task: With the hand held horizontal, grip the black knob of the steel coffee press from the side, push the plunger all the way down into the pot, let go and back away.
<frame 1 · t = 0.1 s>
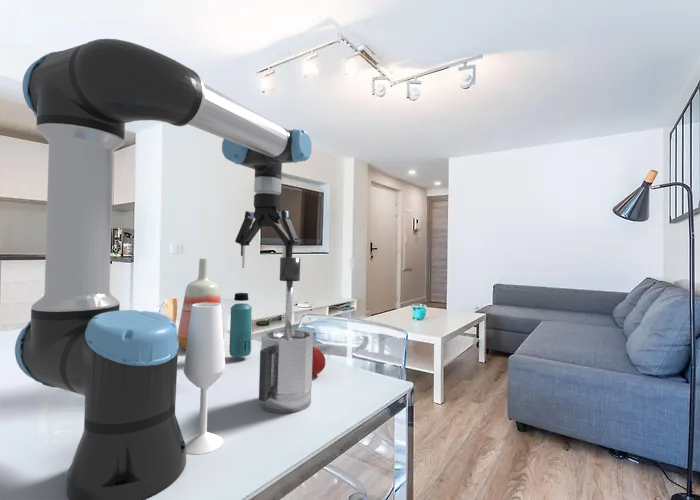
hand: (265, 269, 105), 28 cm above the table, tool pointing down, fingers open, 13 cm apart
press pot: (286, 402, 82), on the table
champagne flute: (202, 444, 64), on the table
vase: (200, 348, 123), on the table
onion: (314, 376, 99), on the table
beverage bottle: (239, 359, 112), on the table
plunger: (289, 301, 82), point 22 cm above the table, slide at 0.0 cm
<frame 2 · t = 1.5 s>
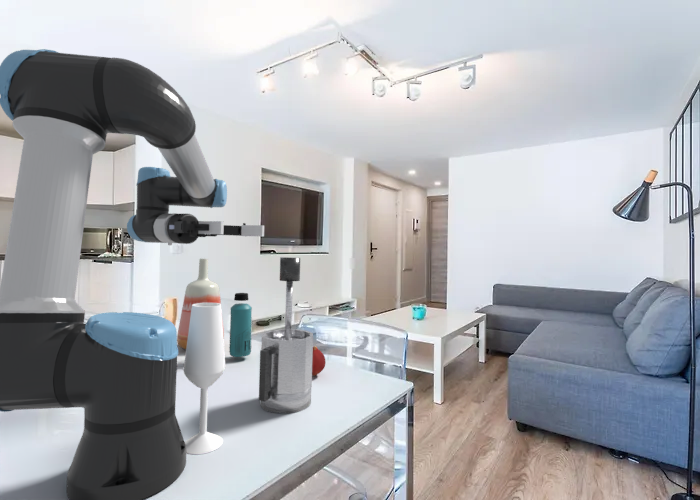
hand: (244, 229, 84), 38 cm above the table, tool horizontal, fingers open, 13 cm apart
nothing on the table moved.
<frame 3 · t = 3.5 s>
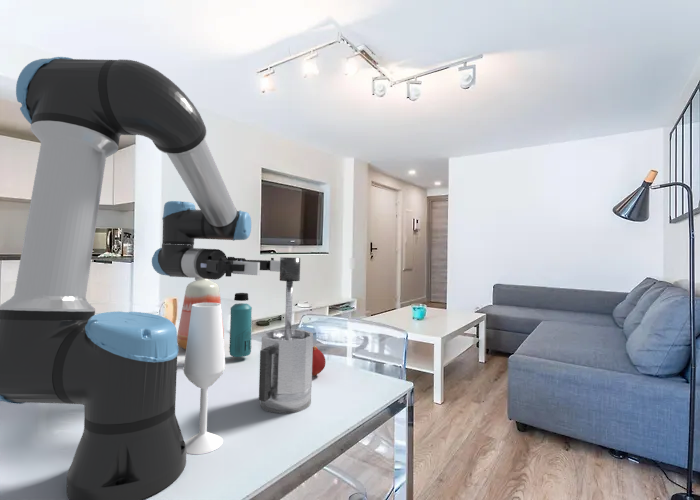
hand: (277, 267, 84), 30 cm above the table, tool horizontal, fingers open, 13 cm apart
nothing on the table moved.
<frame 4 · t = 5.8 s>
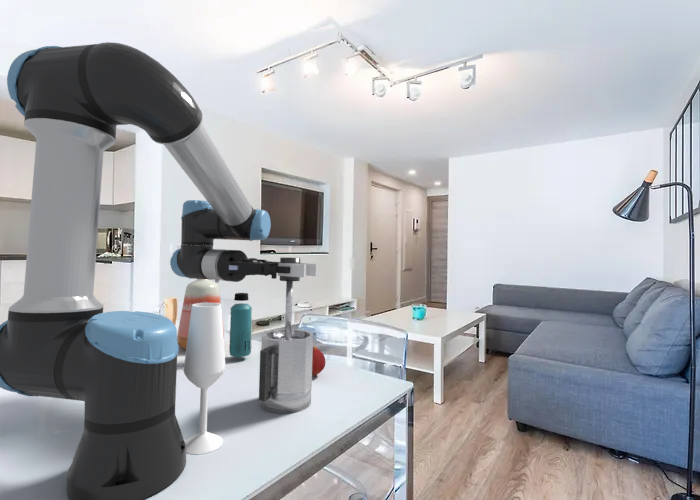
hand: (310, 270, 79), 29 cm above the table, tool horizontal, fingers closed on plunger, 4 cm apart
plunger: (289, 301, 82), point 22 cm above the table, slide at 0.0 cm, touching gripper
everything else where it was.
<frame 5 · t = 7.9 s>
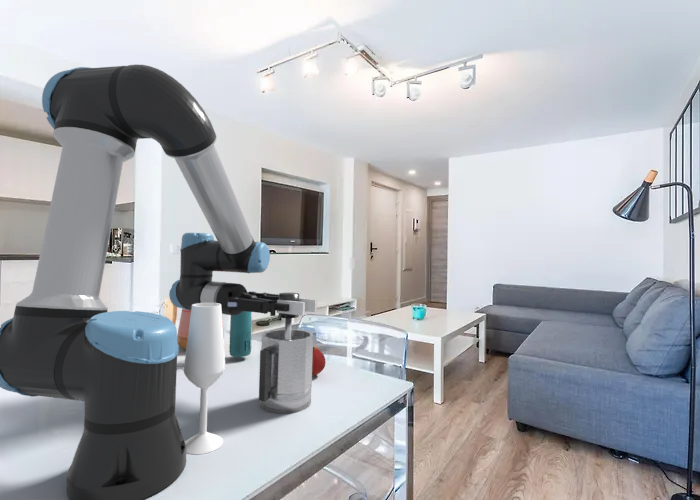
hand: (309, 307, 79), 22 cm above the table, tool horizontal, fingers closed on plunger, 4 cm apart
plunger: (287, 337, 82), point 14 cm above the table, slide at 8.0 cm, touching gripper
everything else where it was.
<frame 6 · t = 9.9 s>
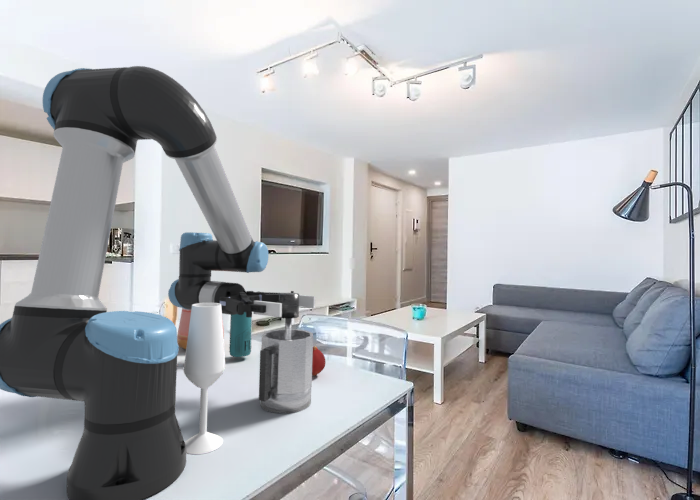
hand: (299, 305, 81), 22 cm above the table, tool horizontal, fingers open, 13 cm apart
plunger: (287, 337, 82), point 14 cm above the table, slide at 8.0 cm
everything else where it was.
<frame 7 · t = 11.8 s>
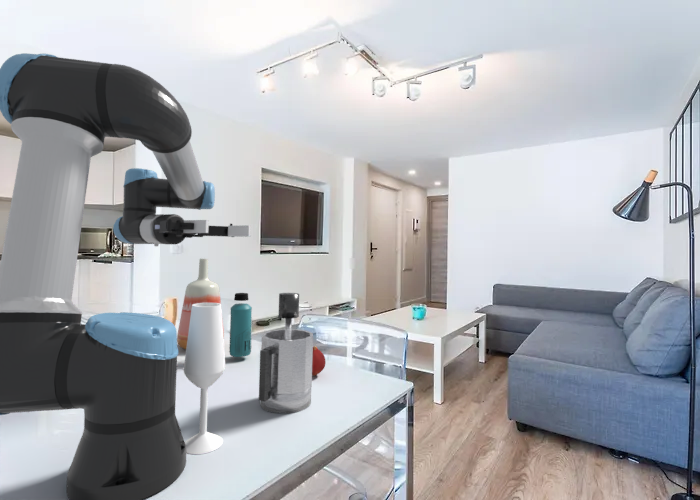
hand: (230, 228, 84), 38 cm above the table, tool horizontal, fingers open, 13 cm apart
nothing on the table moved.
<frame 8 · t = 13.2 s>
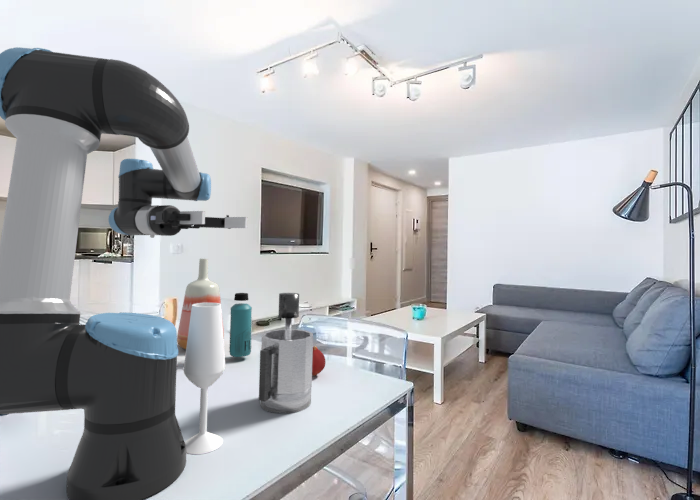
hand: (226, 220, 84), 40 cm above the table, tool horizontal, fingers open, 13 cm apart
nothing on the table moved.
at the end: plunger slide at 8.0 cm; the gripper is holding nothing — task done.
